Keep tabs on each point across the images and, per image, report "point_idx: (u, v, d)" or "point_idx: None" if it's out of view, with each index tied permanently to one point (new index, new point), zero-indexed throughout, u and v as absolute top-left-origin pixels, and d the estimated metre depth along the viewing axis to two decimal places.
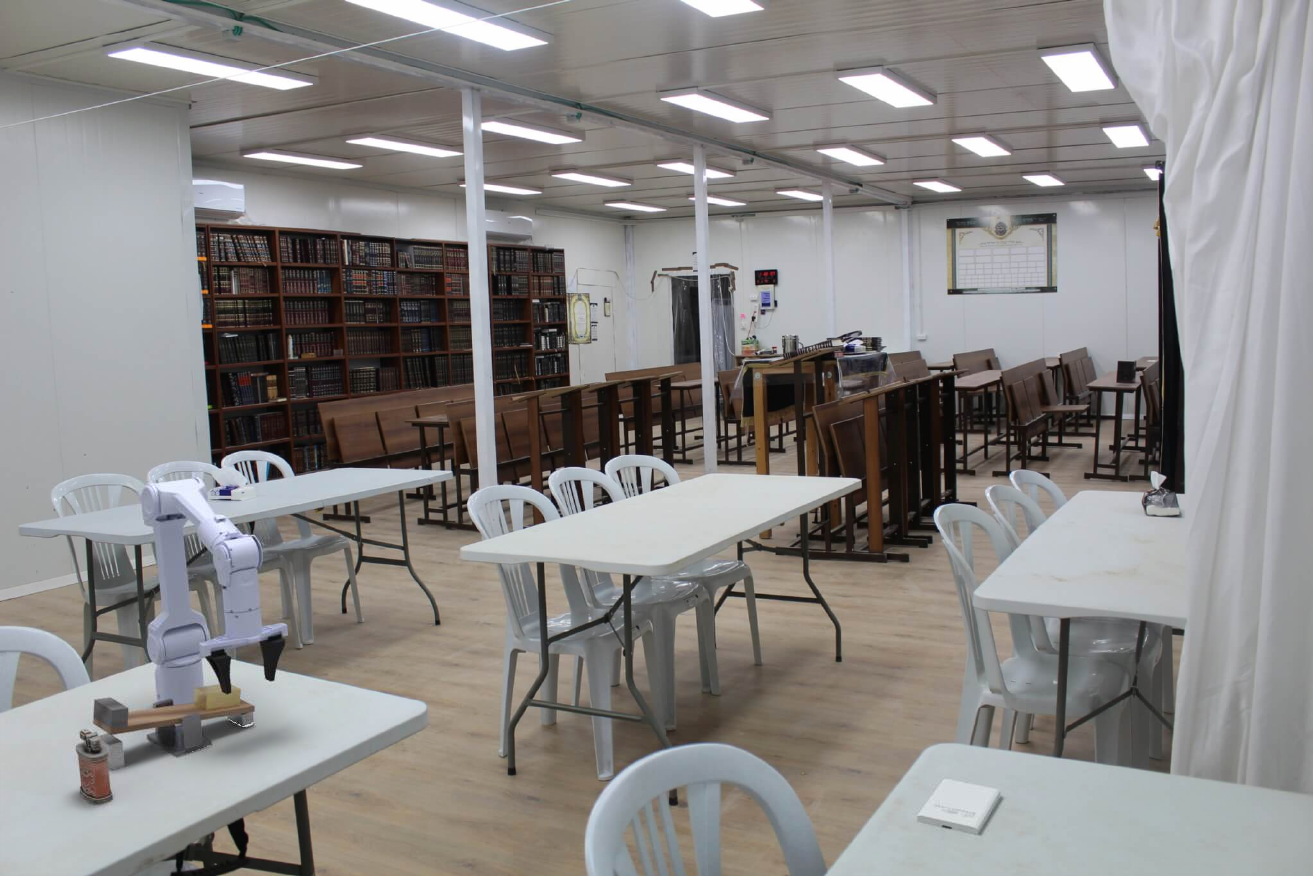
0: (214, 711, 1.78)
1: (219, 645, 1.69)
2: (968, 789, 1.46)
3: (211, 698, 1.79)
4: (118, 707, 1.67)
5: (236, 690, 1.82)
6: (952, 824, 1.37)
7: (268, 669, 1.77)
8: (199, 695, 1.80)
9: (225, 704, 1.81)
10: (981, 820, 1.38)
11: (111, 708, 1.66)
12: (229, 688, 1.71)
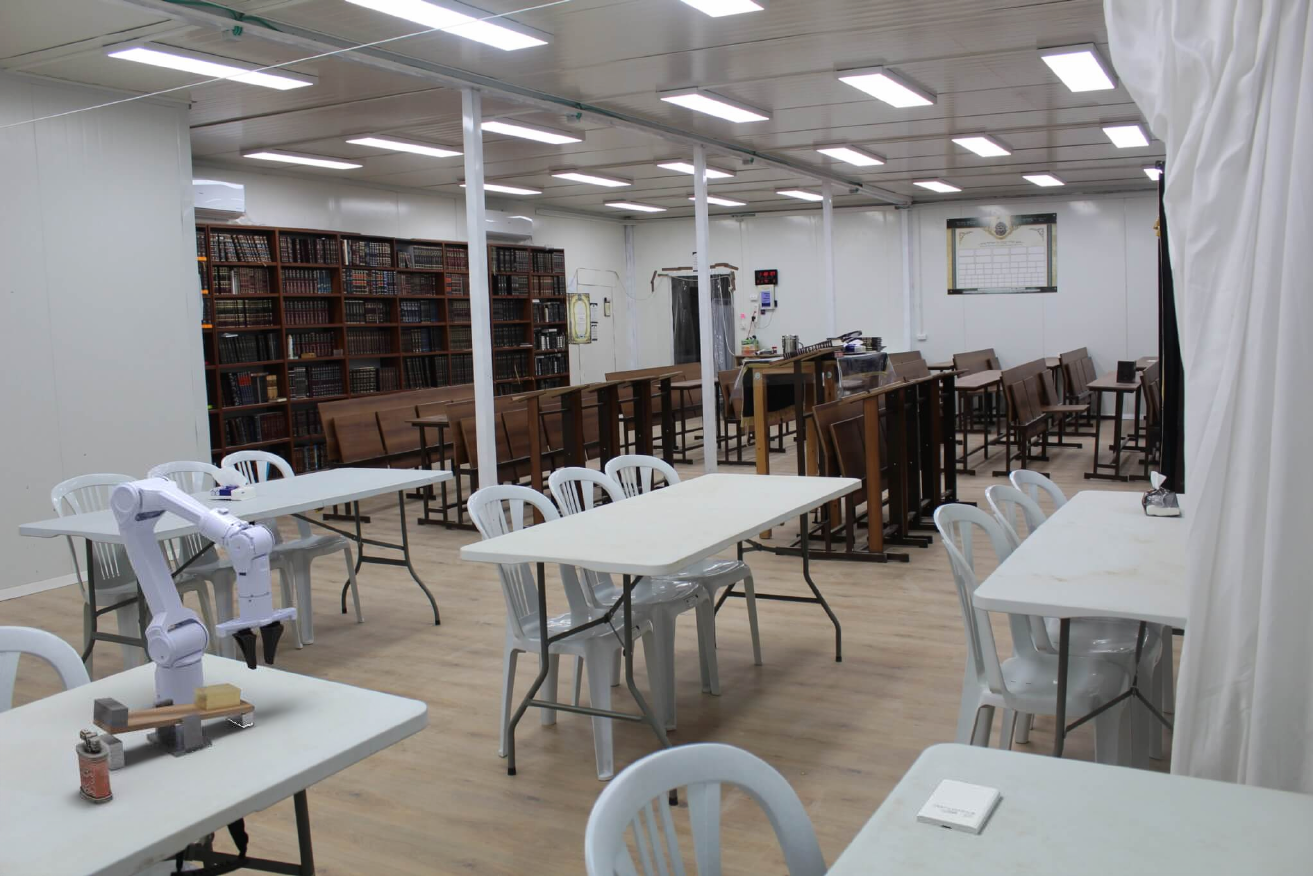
0: (214, 711, 1.78)
1: (234, 627, 1.82)
2: (968, 789, 1.46)
3: (211, 698, 1.79)
4: (118, 707, 1.67)
5: (236, 690, 1.82)
6: (951, 824, 1.37)
7: (268, 653, 1.88)
8: (199, 695, 1.80)
9: (225, 704, 1.81)
10: (980, 820, 1.38)
11: (111, 708, 1.66)
12: (255, 664, 1.85)
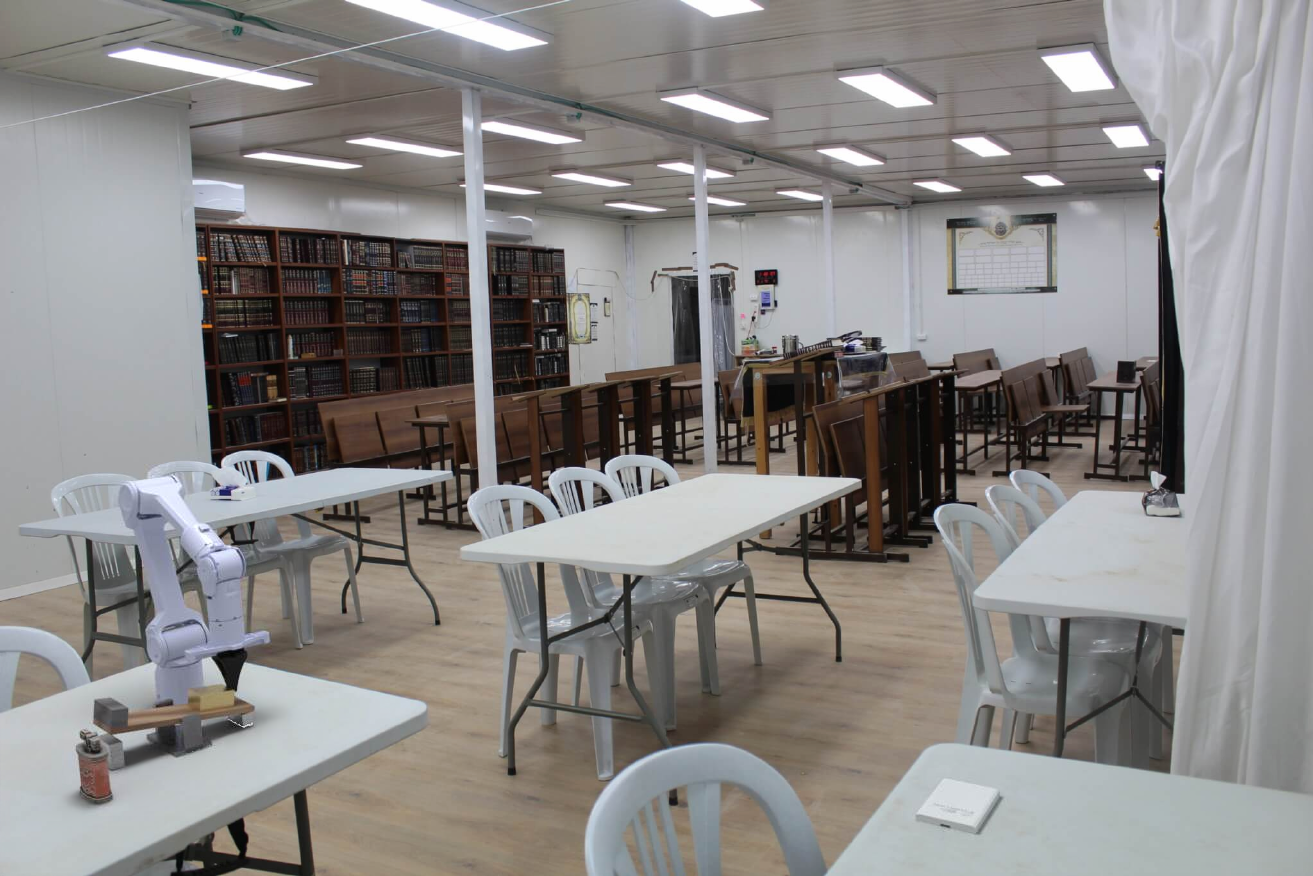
0: (214, 711, 1.78)
1: (204, 652, 1.78)
2: (967, 788, 1.46)
3: (204, 699, 1.78)
4: (118, 707, 1.67)
5: (230, 691, 1.81)
6: (950, 823, 1.37)
7: None
8: (192, 696, 1.79)
9: (219, 705, 1.80)
10: (979, 819, 1.38)
11: (111, 708, 1.66)
12: (234, 687, 1.83)
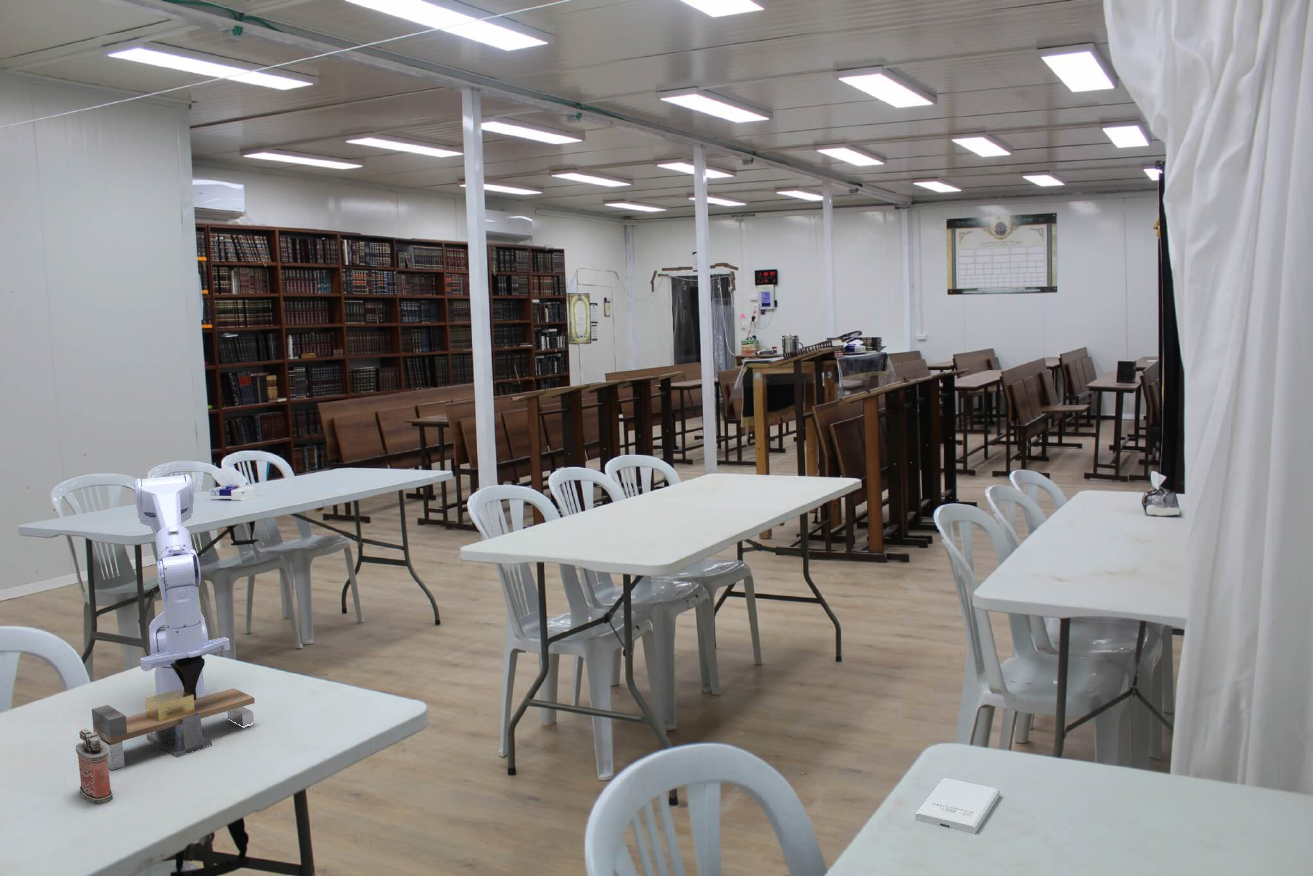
0: (214, 708, 1.78)
1: (160, 660, 1.73)
2: (967, 788, 1.47)
3: (162, 708, 1.72)
4: (115, 716, 1.67)
5: (189, 696, 1.76)
6: (949, 823, 1.38)
7: (188, 689, 1.78)
8: (150, 706, 1.74)
9: (179, 712, 1.75)
10: (979, 819, 1.38)
11: (108, 717, 1.66)
12: (194, 695, 1.78)
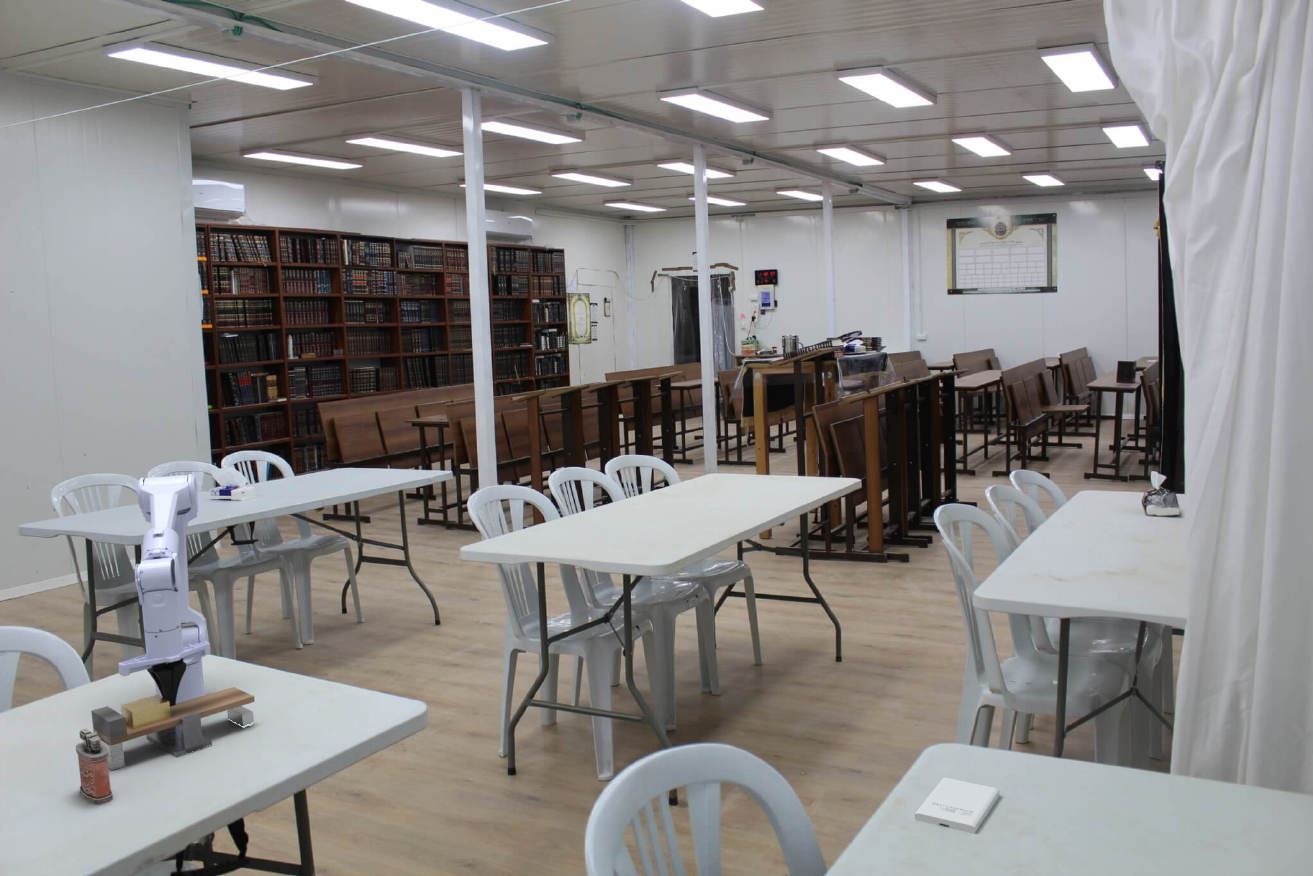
0: (214, 707, 1.78)
1: (138, 665, 1.70)
2: (967, 788, 1.47)
3: (137, 715, 1.70)
4: (115, 717, 1.67)
5: (164, 703, 1.73)
6: (949, 822, 1.38)
7: None
8: (125, 713, 1.71)
9: (154, 719, 1.72)
10: (978, 818, 1.38)
11: (108, 719, 1.66)
12: (171, 701, 1.75)
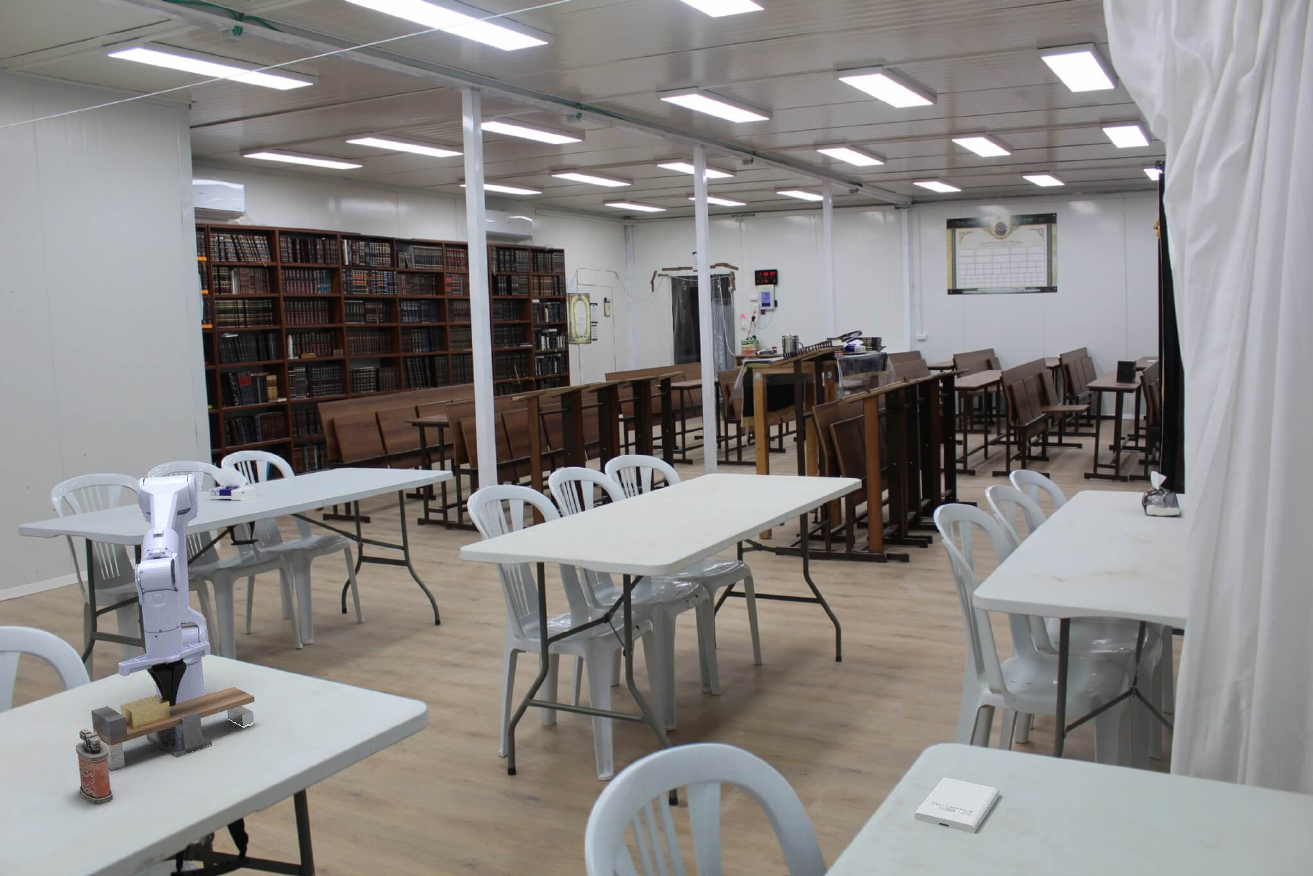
0: (214, 707, 1.78)
1: (138, 665, 1.70)
2: (967, 788, 1.47)
3: (136, 715, 1.70)
4: (115, 717, 1.67)
5: (164, 703, 1.73)
6: (948, 822, 1.38)
7: None
8: (125, 713, 1.71)
9: (154, 719, 1.72)
10: (978, 818, 1.38)
11: (108, 719, 1.66)
12: (171, 701, 1.75)
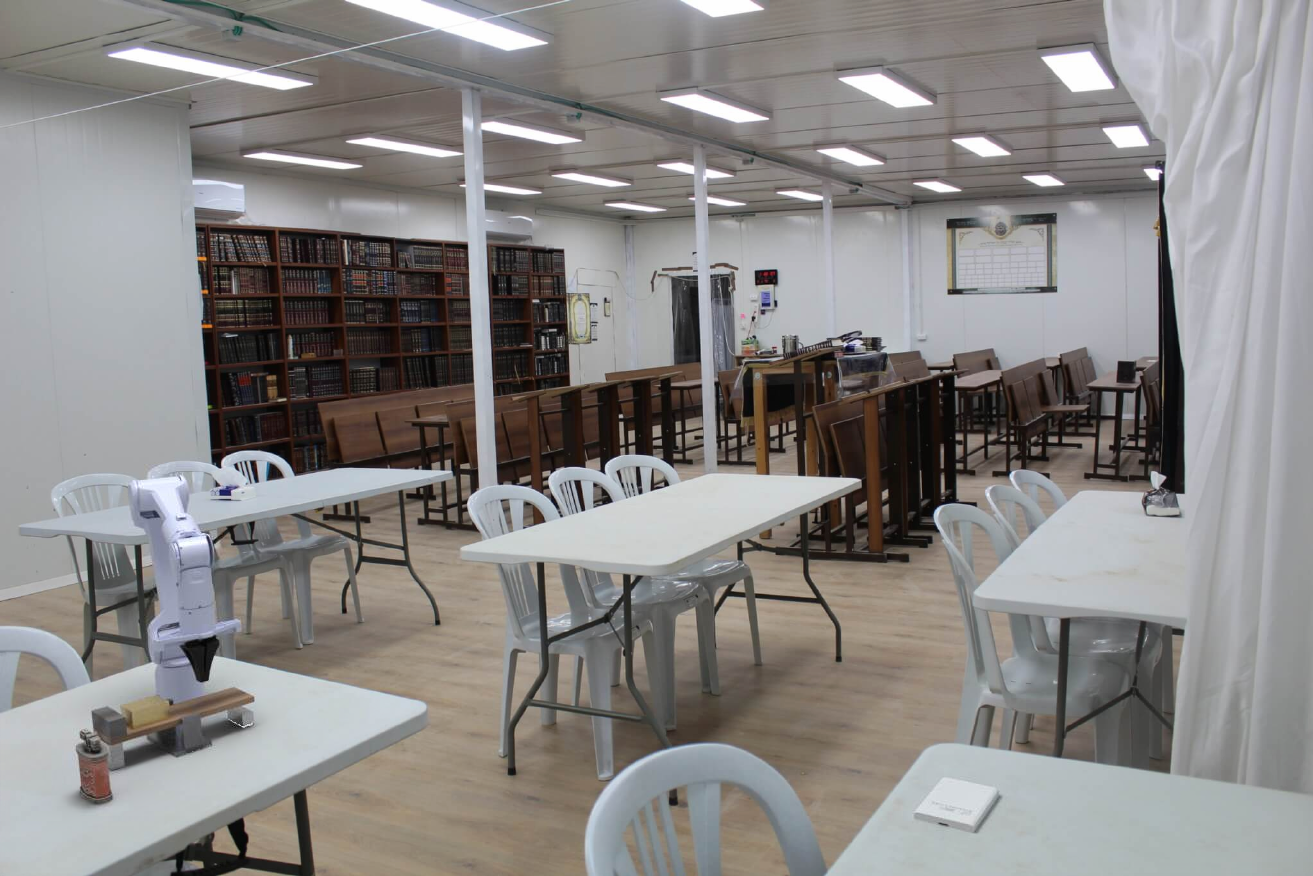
0: (214, 707, 1.78)
1: (172, 641, 1.74)
2: (967, 787, 1.47)
3: (136, 715, 1.70)
4: (115, 717, 1.67)
5: (164, 703, 1.73)
6: (948, 821, 1.38)
7: None
8: (125, 713, 1.71)
9: (154, 719, 1.72)
10: (977, 818, 1.38)
11: (108, 719, 1.66)
12: (203, 677, 1.79)
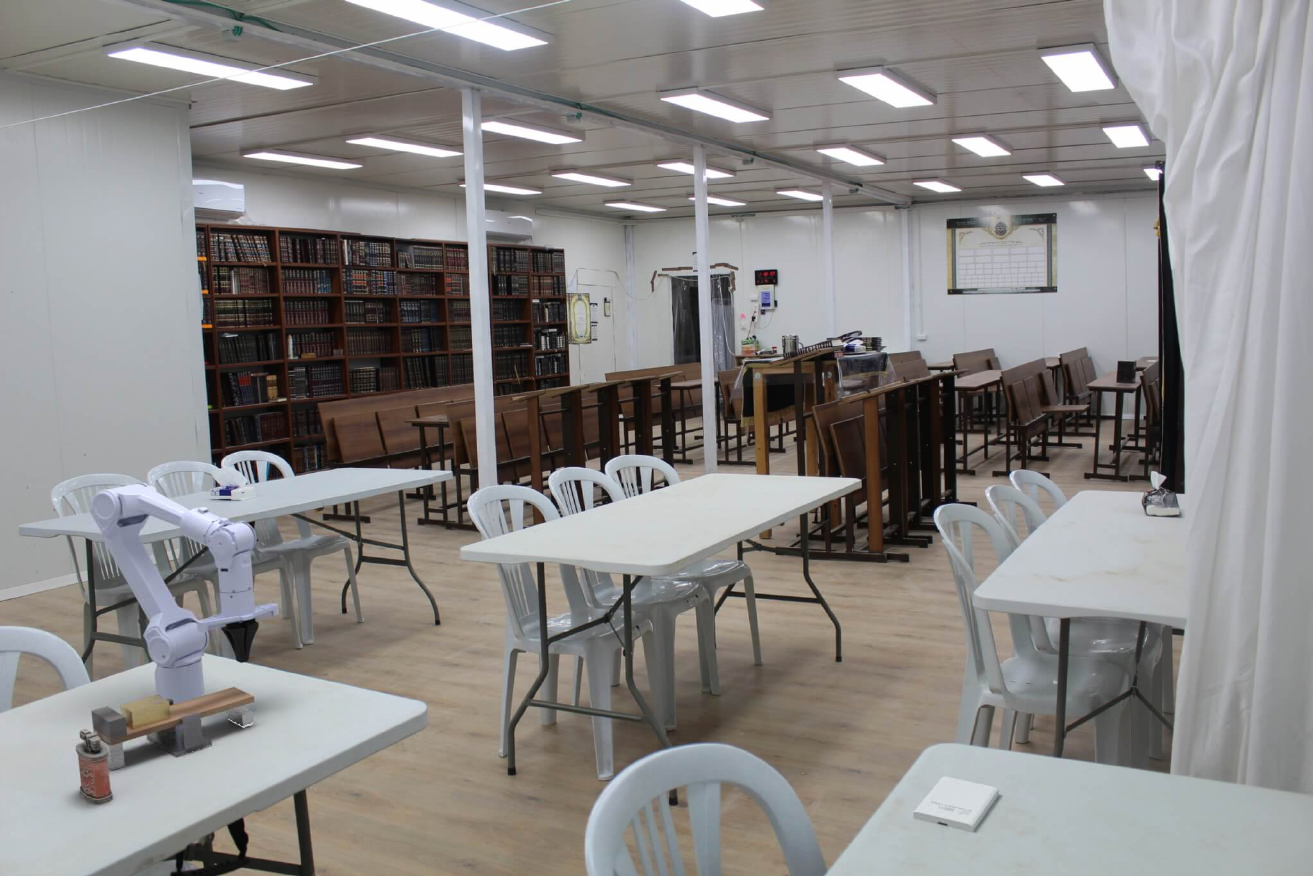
0: (214, 707, 1.78)
1: (215, 622, 1.84)
2: (966, 787, 1.47)
3: (136, 715, 1.70)
4: (115, 717, 1.67)
5: (164, 703, 1.73)
6: (947, 821, 1.38)
7: None
8: (125, 713, 1.71)
9: (154, 719, 1.72)
10: (977, 817, 1.38)
11: (108, 719, 1.66)
12: (243, 657, 1.88)
